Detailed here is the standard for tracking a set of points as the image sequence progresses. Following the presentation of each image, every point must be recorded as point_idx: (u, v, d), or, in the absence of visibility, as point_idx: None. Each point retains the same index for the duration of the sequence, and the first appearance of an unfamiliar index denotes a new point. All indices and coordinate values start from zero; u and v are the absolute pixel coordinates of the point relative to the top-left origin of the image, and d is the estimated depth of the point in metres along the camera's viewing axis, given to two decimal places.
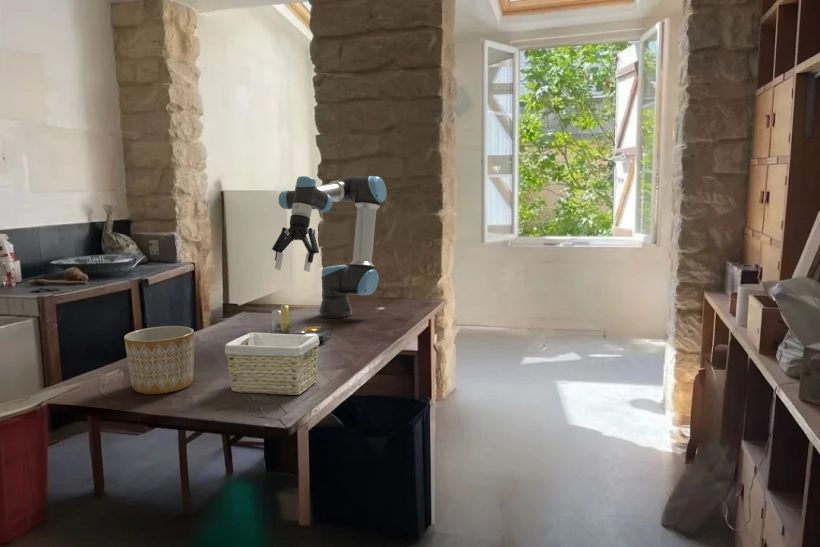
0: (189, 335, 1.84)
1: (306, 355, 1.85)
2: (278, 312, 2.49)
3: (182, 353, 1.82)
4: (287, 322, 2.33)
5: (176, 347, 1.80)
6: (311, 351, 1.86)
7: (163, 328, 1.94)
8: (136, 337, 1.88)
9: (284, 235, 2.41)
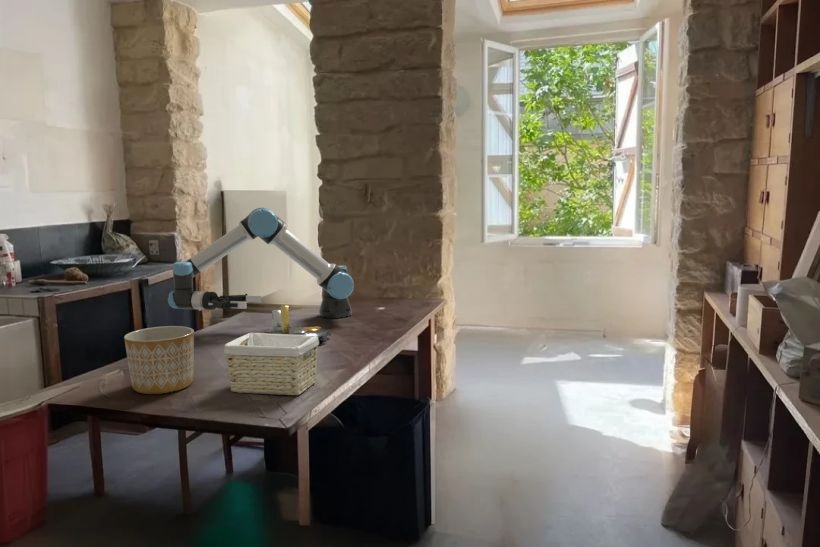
0: (189, 335, 1.84)
1: (305, 355, 1.85)
2: (278, 312, 2.49)
3: (182, 353, 1.82)
4: (287, 322, 2.33)
5: (176, 347, 1.80)
6: (310, 351, 1.85)
7: (163, 328, 1.94)
8: (136, 337, 1.88)
9: None
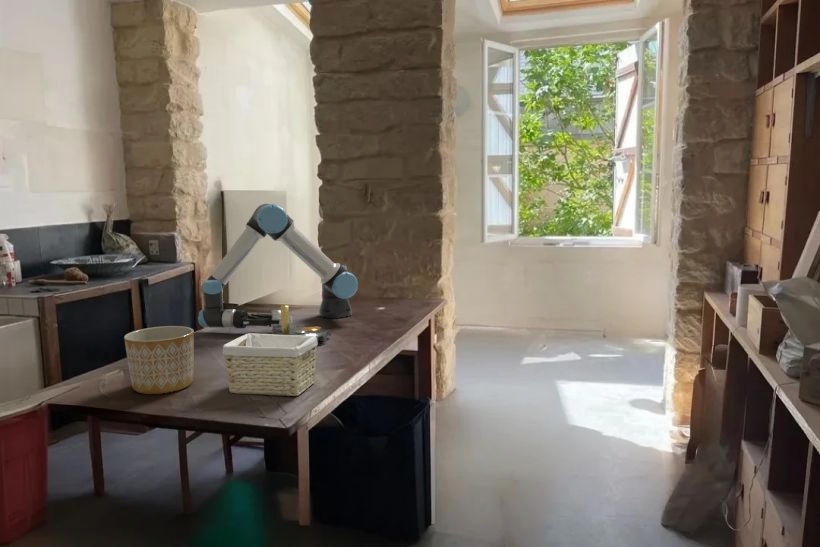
0: (189, 335, 1.84)
1: (304, 355, 1.85)
2: (278, 312, 2.49)
3: (182, 353, 1.82)
4: (287, 322, 2.33)
5: (176, 347, 1.80)
6: (309, 352, 1.85)
7: (163, 328, 1.94)
8: (136, 337, 1.88)
9: None
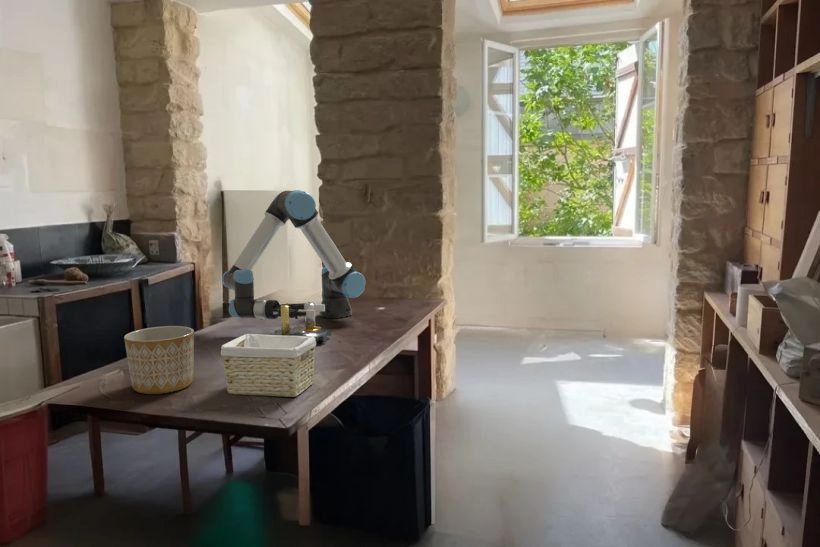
0: (189, 335, 1.84)
1: (302, 356, 1.84)
2: (311, 305, 2.44)
3: (182, 353, 1.82)
4: (287, 322, 2.33)
5: (176, 347, 1.80)
6: (308, 352, 1.84)
7: (163, 328, 1.94)
8: (136, 337, 1.88)
9: None
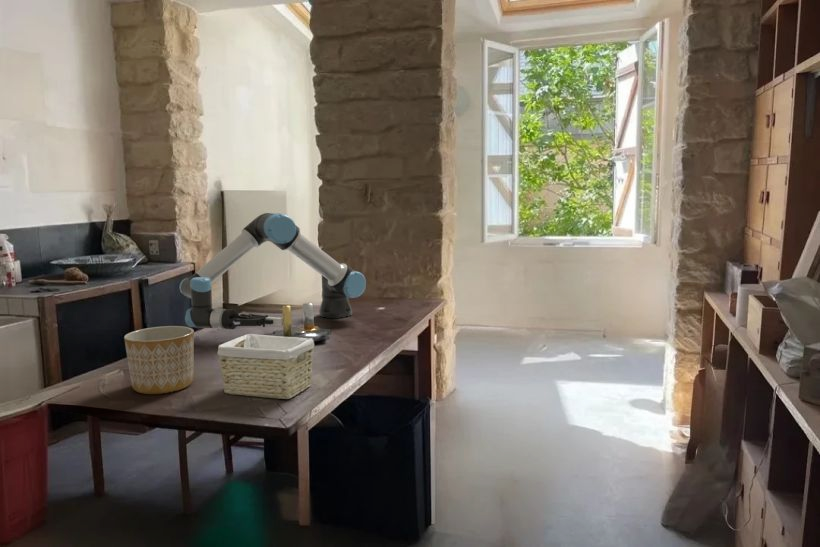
0: (189, 335, 1.84)
1: (299, 358, 1.82)
2: (310, 305, 2.44)
3: (182, 353, 1.82)
4: (289, 322, 2.32)
5: (176, 347, 1.80)
6: (305, 354, 1.82)
7: (163, 328, 1.94)
8: (136, 337, 1.88)
9: None
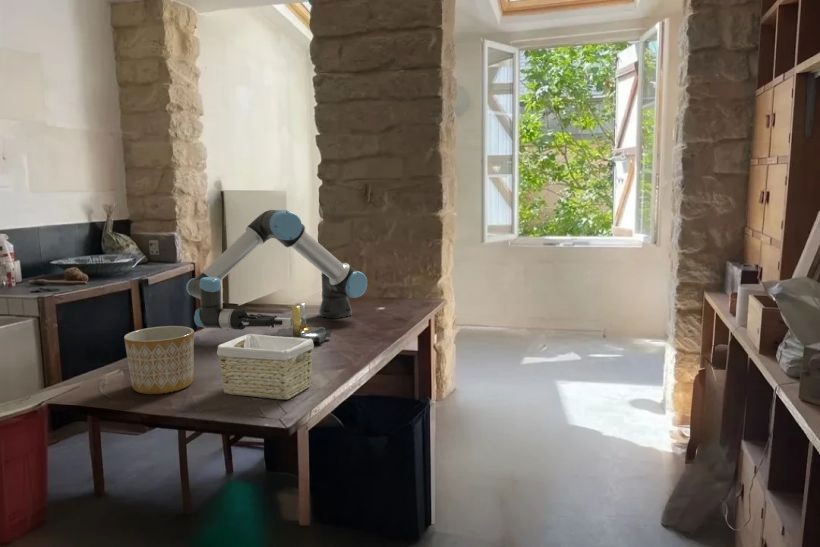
0: (189, 335, 1.84)
1: (298, 358, 1.81)
2: (304, 305, 2.45)
3: (182, 353, 1.82)
4: (300, 322, 2.32)
5: (176, 347, 1.80)
6: (304, 355, 1.81)
7: (163, 328, 1.94)
8: (136, 337, 1.88)
9: None
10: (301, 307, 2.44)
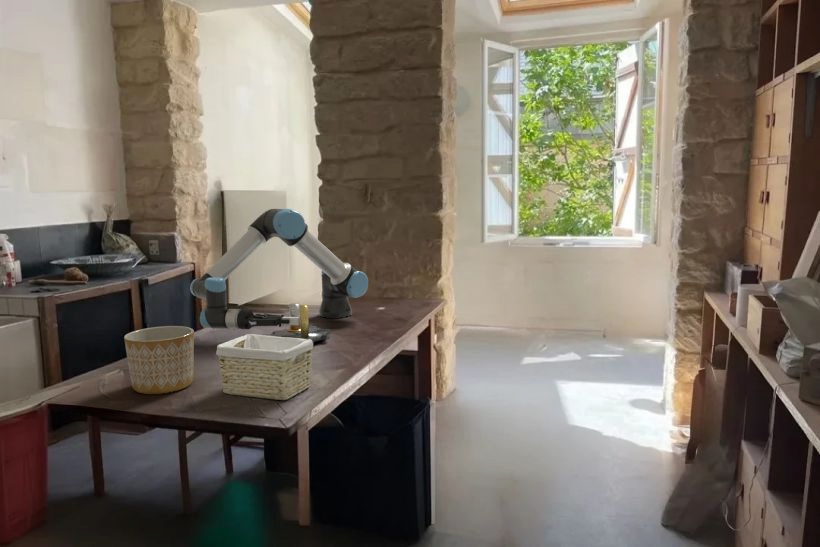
0: (189, 335, 1.84)
1: (298, 359, 1.81)
2: (299, 305, 2.45)
3: (182, 353, 1.82)
4: None
5: (176, 347, 1.80)
6: (303, 355, 1.81)
7: (163, 328, 1.94)
8: (136, 337, 1.88)
9: None
10: (297, 307, 2.44)
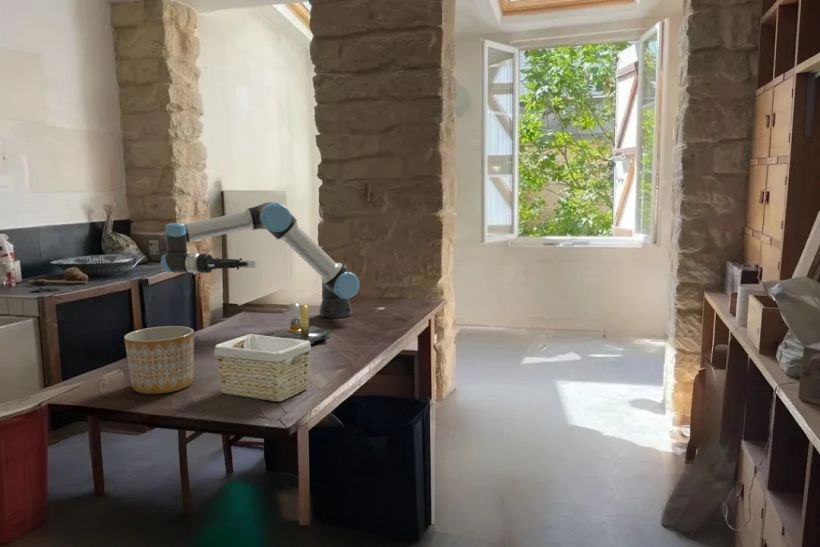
0: (189, 335, 1.84)
1: (295, 360, 1.79)
2: (299, 305, 2.45)
3: (182, 353, 1.82)
4: None
5: (176, 347, 1.80)
6: (300, 357, 1.79)
7: (163, 328, 1.94)
8: (136, 337, 1.88)
9: None
10: (297, 307, 2.44)
